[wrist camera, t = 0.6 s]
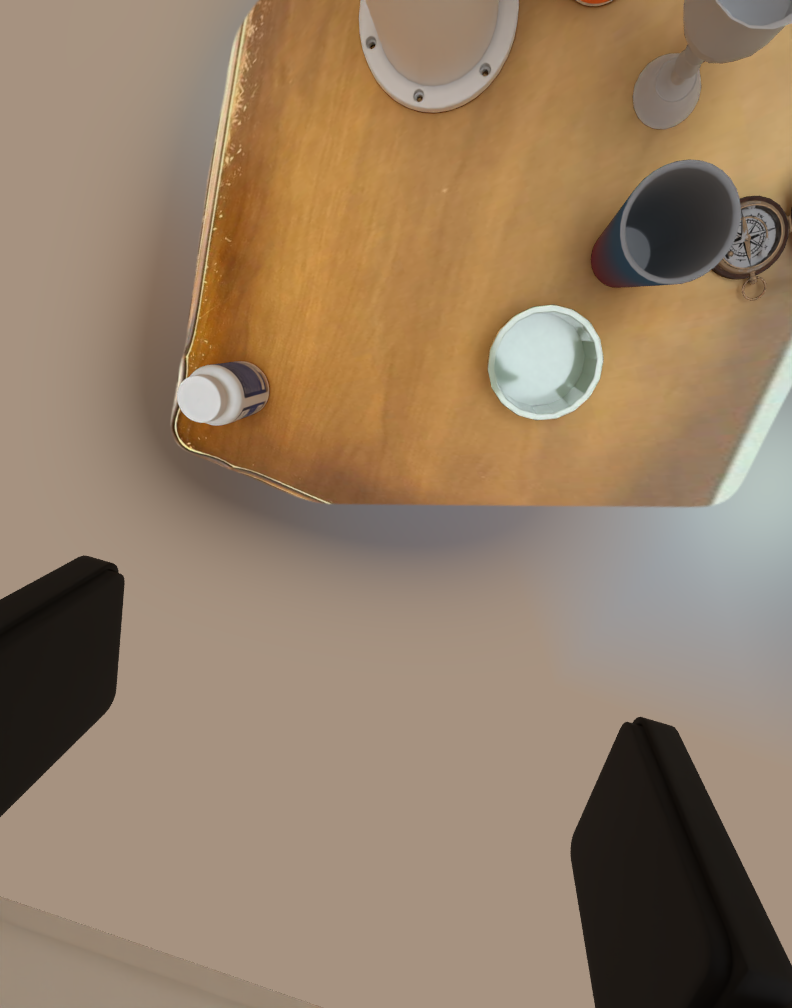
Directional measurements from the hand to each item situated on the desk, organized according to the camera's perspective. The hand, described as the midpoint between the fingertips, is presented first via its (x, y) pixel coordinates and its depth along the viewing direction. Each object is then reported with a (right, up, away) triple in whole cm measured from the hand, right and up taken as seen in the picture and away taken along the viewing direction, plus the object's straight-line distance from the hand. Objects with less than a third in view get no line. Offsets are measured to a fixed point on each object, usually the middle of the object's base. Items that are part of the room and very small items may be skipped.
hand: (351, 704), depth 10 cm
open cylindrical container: (+14, +17, +41) cm, 46 cm away
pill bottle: (-14, +15, +46) cm, 51 cm away
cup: (+20, +25, +38) cm, 49 cm away
